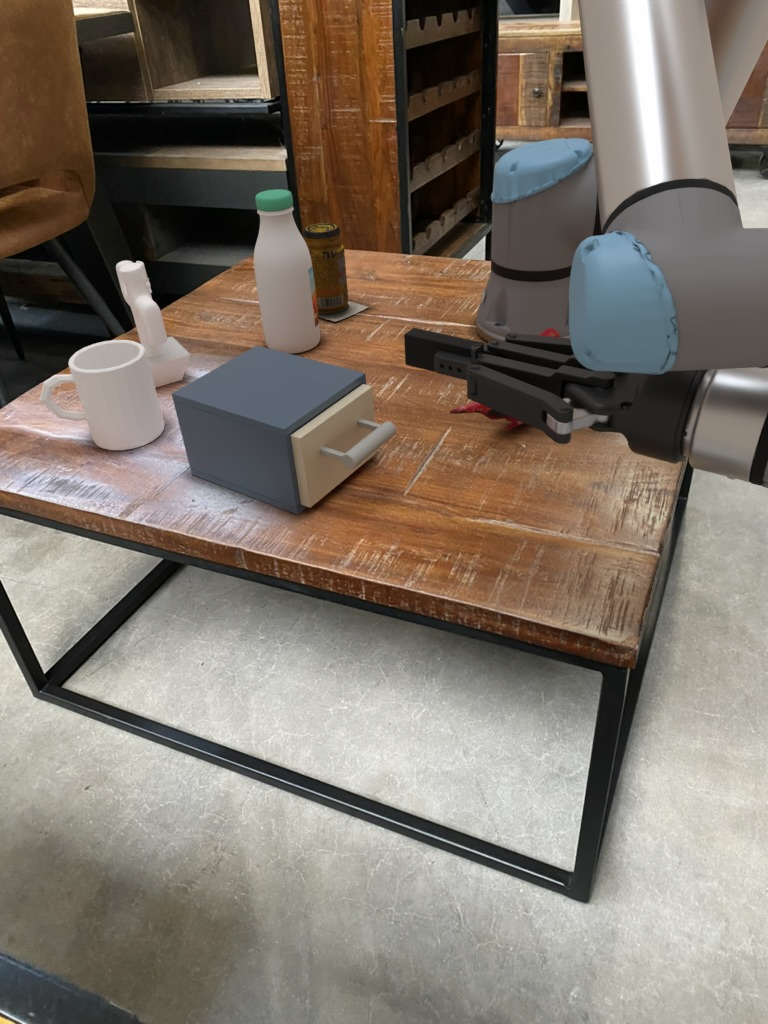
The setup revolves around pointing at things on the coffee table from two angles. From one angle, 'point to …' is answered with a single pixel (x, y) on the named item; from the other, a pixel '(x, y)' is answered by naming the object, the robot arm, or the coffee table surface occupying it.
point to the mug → (112, 394)
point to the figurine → (151, 325)
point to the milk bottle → (284, 277)
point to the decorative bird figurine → (490, 412)
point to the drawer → (337, 443)
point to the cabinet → (256, 420)
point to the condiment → (329, 272)
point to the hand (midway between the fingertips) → (409, 346)
